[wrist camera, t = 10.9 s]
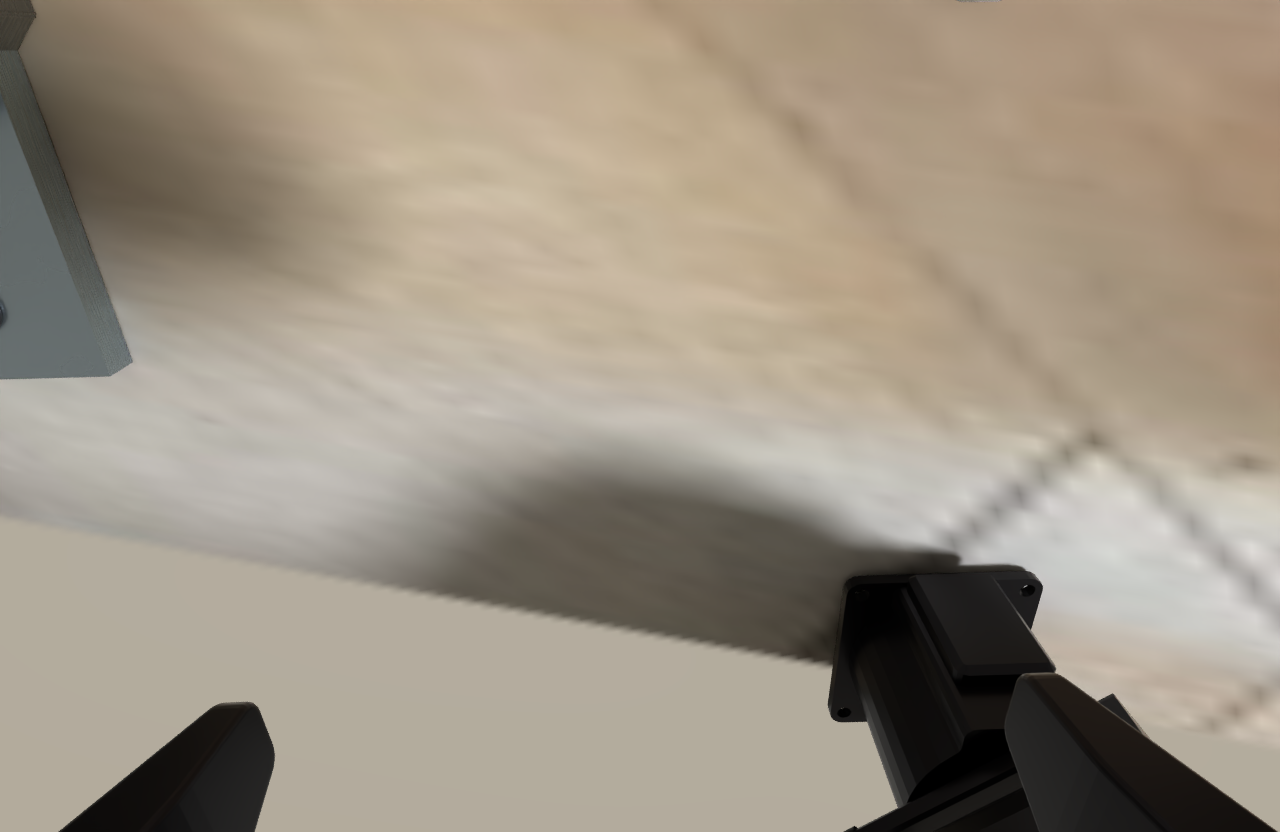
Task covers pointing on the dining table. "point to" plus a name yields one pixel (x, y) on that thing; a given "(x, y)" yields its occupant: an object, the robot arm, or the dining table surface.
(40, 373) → the hinge leaf
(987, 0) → the rook chess piece
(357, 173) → the dining table surface
